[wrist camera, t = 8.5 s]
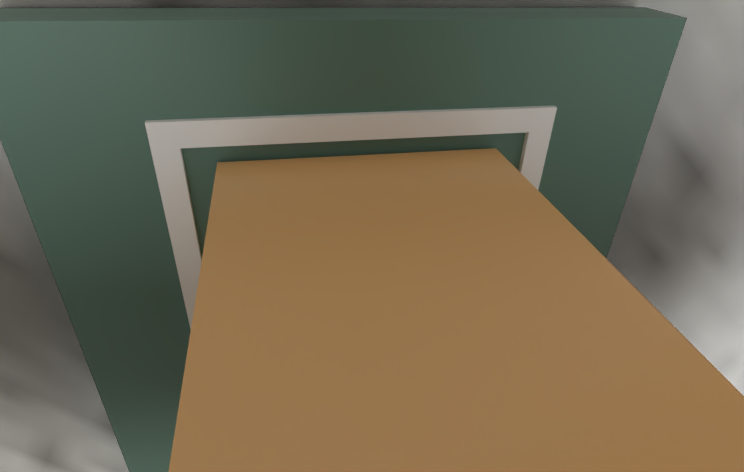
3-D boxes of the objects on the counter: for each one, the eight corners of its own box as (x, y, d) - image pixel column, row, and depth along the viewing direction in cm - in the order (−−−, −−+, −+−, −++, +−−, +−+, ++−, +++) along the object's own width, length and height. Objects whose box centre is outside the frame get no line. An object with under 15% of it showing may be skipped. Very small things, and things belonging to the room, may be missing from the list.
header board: (517, 446, 15) (590, 596, 12) (162, 502, 13) (131, 697, 10) (646, 7, 9) (887, 69, 5) (-9, 8, 7) (-255, 98, 4)
